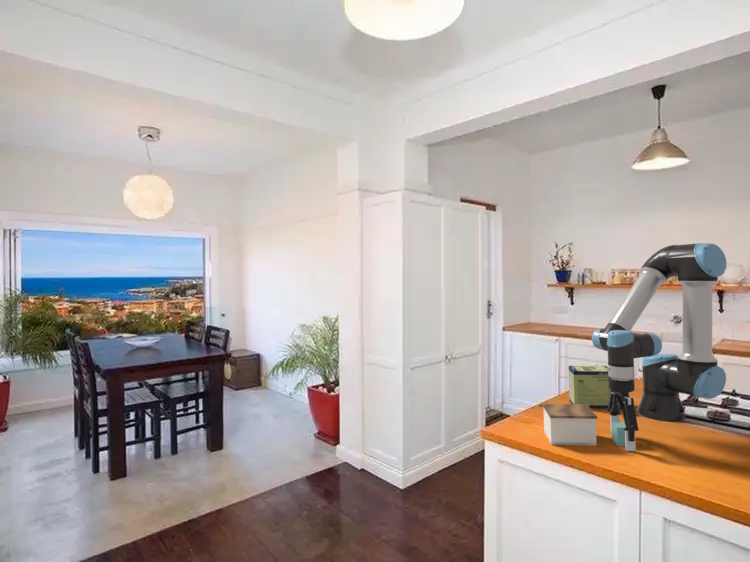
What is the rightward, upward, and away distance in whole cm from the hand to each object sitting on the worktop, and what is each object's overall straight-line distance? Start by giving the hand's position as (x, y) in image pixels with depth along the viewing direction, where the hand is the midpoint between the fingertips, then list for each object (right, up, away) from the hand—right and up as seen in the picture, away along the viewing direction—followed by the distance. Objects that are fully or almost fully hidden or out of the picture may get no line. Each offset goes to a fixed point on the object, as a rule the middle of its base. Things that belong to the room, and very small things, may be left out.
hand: (622, 442), depth 150 cm
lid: (-16, +9, +5) cm, 18 cm away
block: (0, 0, 0) cm, 0 cm away
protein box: (+9, +1, +41) cm, 42 cm away
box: (-15, -1, +6) cm, 16 cm away
